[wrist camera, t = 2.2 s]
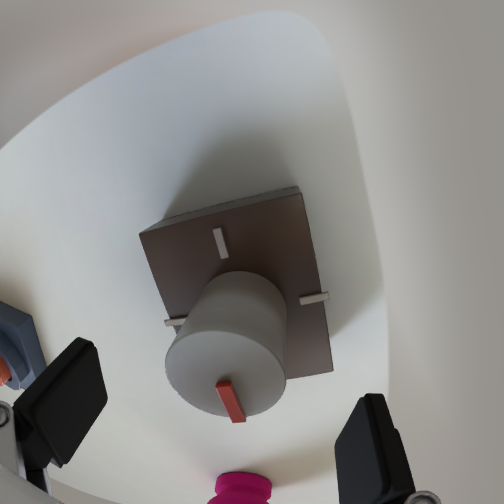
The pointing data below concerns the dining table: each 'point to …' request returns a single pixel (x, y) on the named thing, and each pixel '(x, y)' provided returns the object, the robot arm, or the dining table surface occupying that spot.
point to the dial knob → (232, 347)
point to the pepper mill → (241, 489)
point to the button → (4, 372)
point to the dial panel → (246, 265)
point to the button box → (20, 347)
